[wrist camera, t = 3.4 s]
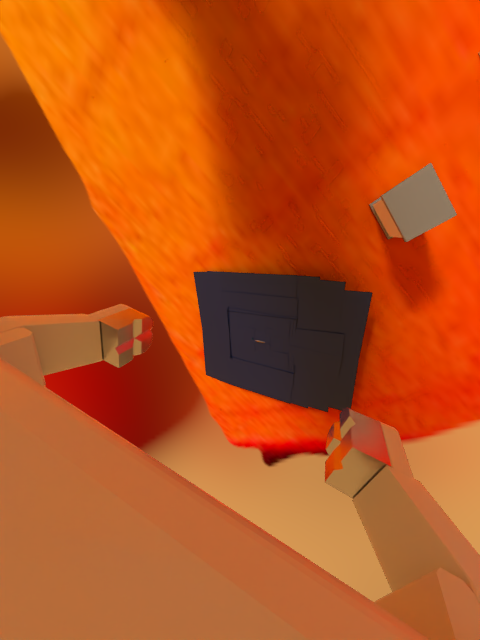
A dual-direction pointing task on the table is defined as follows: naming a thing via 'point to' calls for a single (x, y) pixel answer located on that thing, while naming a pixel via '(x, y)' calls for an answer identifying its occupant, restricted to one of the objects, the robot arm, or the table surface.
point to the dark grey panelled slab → (283, 335)
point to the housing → (413, 206)
